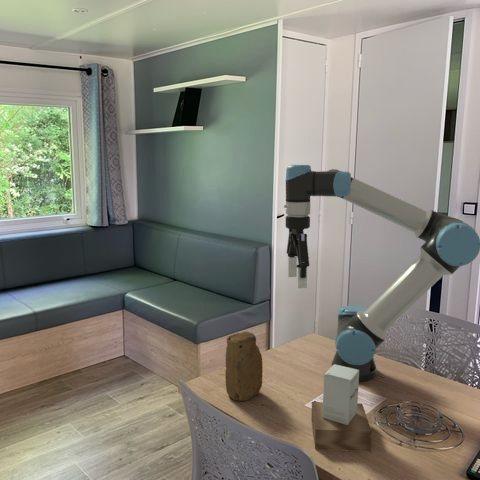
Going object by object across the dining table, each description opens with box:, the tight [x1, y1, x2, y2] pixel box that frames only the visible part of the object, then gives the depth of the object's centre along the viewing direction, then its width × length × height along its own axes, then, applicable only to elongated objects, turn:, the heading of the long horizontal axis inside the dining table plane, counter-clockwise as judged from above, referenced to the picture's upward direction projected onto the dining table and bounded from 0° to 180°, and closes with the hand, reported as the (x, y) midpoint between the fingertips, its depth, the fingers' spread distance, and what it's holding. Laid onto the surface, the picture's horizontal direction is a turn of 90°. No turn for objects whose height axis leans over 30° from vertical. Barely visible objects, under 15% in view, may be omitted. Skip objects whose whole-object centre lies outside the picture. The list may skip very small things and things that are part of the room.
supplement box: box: [322, 364, 360, 425], centre depth 129 cm, size 7×7×13 cm
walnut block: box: [311, 401, 372, 452], centre depth 131 cm, size 14×14×6 cm
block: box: [224, 331, 264, 402], centre depth 151 cm, size 11×8×20 cm
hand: (297, 282), depth 154 cm, fingers open, 13 cm apart
